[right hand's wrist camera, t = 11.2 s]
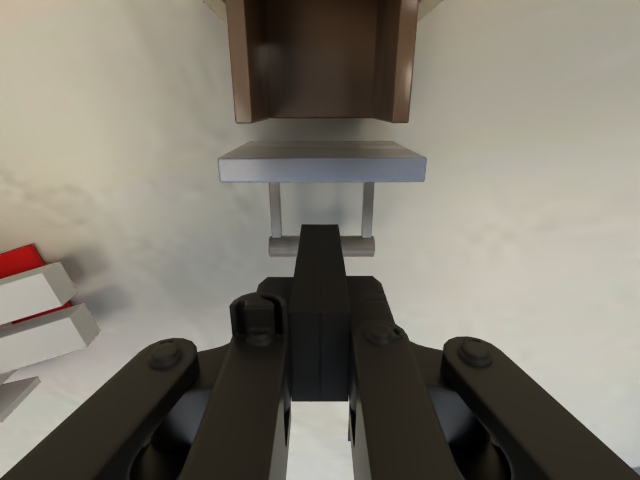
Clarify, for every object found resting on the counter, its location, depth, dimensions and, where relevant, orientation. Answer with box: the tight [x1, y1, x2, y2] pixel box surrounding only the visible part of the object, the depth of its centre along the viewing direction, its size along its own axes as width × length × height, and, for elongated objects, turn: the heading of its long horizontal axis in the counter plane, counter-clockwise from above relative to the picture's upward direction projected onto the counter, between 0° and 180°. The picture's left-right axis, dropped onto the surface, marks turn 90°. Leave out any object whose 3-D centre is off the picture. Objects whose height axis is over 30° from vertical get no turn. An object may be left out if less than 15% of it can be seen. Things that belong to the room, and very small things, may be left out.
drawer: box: [218, 0, 427, 257], centre depth 19 cm, size 25×10×8 cm, turn 0°
